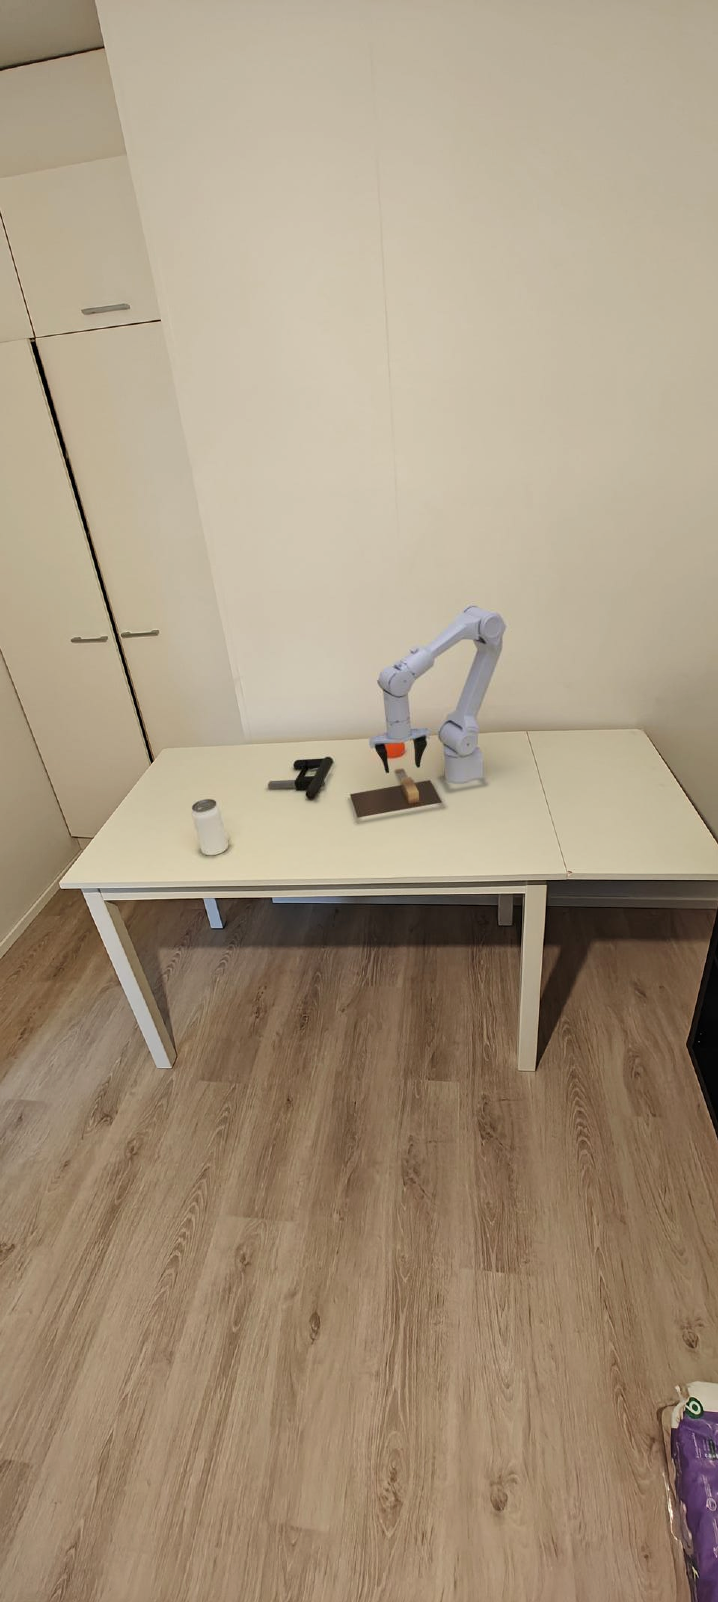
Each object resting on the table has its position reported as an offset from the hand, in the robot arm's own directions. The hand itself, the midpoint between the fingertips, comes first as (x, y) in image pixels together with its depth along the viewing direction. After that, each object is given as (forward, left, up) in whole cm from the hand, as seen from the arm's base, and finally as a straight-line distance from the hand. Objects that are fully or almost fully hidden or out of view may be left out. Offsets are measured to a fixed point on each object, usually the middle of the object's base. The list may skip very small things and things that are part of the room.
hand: (402, 768), depth 173 cm
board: (+3, +1, -9) cm, 9 cm away
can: (+48, +7, -9) cm, 49 cm away
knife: (-1, -5, -7) cm, 9 cm away
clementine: (-2, -24, -9) cm, 26 cm away
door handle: (+25, -19, -9) cm, 33 cm away
